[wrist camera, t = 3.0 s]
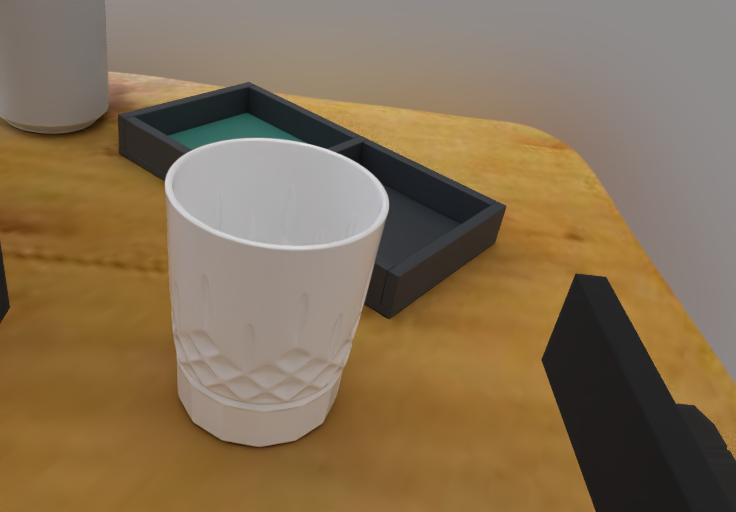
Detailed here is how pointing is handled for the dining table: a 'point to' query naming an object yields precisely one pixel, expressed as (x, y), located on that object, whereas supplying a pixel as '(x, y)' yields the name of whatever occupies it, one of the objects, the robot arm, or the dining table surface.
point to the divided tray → (395, 172)
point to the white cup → (267, 281)
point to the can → (53, 64)
